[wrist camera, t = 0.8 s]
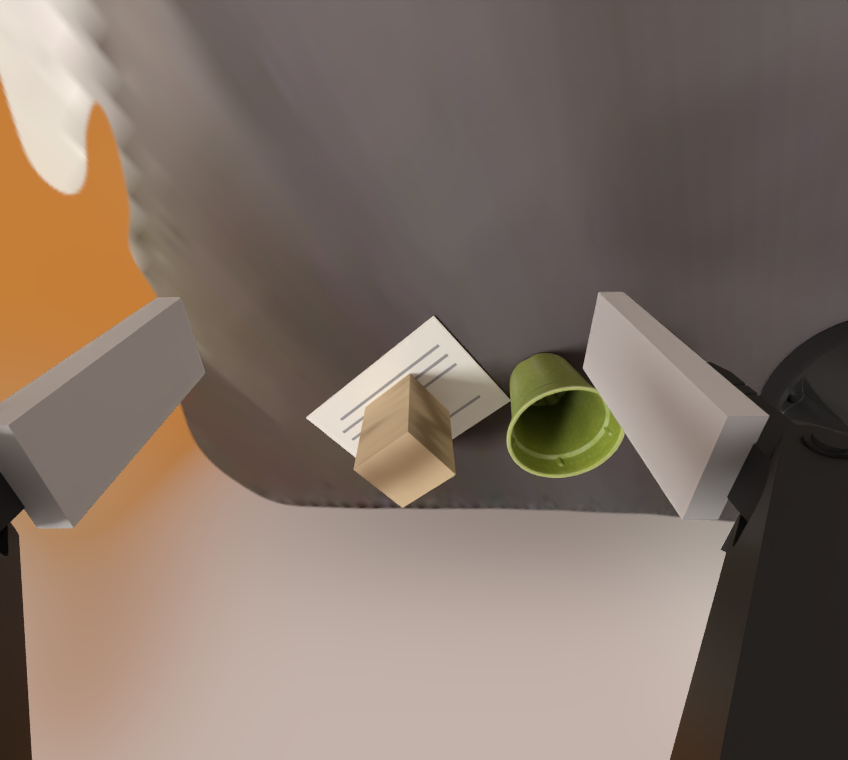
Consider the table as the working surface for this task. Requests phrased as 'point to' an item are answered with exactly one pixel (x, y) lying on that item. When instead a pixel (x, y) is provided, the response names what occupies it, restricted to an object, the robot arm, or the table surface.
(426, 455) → the oak block
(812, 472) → the robot arm
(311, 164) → the table surface
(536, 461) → the plant pot
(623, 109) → the table surface
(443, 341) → the letter
